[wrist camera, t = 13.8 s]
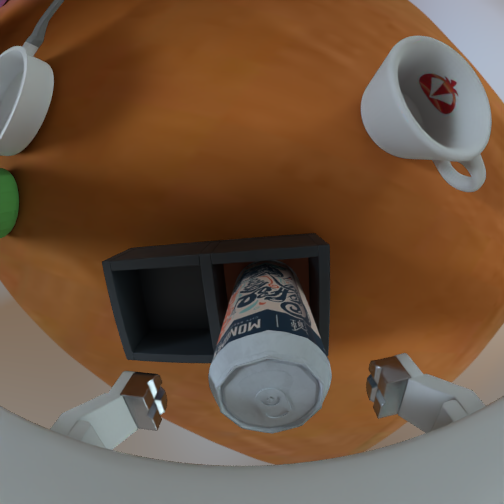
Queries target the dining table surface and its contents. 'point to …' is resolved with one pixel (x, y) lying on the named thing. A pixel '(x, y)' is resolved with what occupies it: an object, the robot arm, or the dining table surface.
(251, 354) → the beer can
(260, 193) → the dining table surface
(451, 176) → the cup
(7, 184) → the bottle
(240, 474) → the robot arm
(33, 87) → the saucepan
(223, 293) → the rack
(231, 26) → the dining table surface
